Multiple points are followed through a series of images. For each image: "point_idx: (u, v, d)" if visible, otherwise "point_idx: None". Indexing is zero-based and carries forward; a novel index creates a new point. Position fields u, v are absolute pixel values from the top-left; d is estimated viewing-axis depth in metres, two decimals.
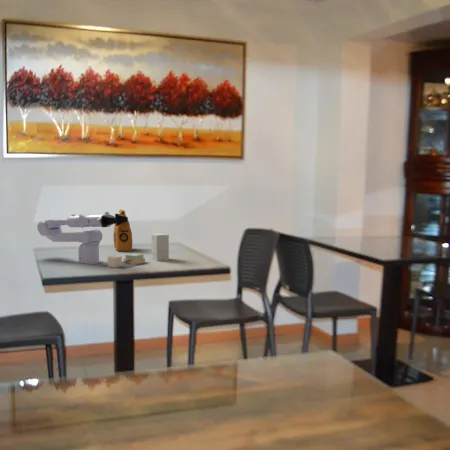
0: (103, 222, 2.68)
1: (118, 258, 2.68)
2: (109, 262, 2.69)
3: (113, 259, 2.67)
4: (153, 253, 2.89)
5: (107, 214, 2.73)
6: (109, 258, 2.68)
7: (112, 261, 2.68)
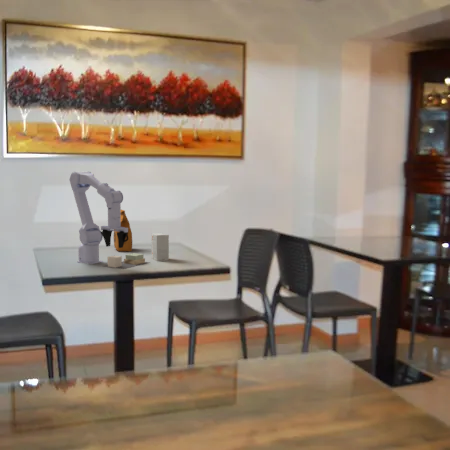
0: None
1: (118, 258, 2.68)
2: (109, 262, 2.69)
3: (113, 259, 2.67)
4: (153, 253, 2.89)
5: None
6: (109, 258, 2.68)
7: (112, 261, 2.68)
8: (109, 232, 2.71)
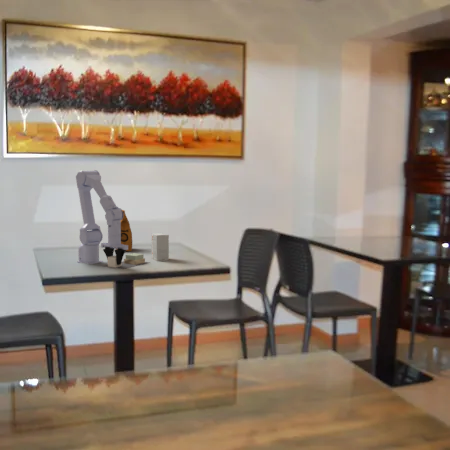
0: None
1: None
2: (109, 262, 2.69)
3: (113, 259, 2.67)
4: (153, 253, 2.89)
5: (110, 246, 2.67)
6: (109, 258, 2.68)
7: (112, 261, 2.68)
8: (111, 249, 2.71)
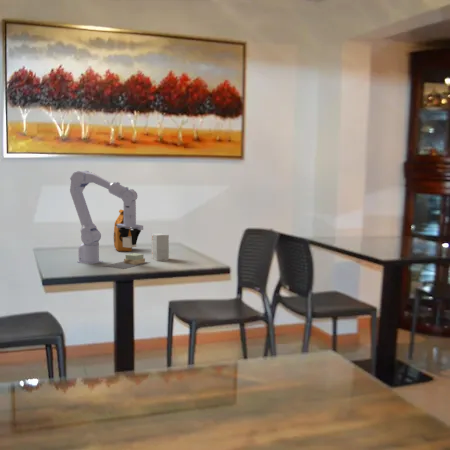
0: None
1: None
2: (124, 243, 2.75)
3: (128, 240, 2.73)
4: (153, 253, 2.89)
5: (125, 226, 2.73)
6: (124, 239, 2.74)
7: (127, 241, 2.73)
8: (127, 230, 2.78)
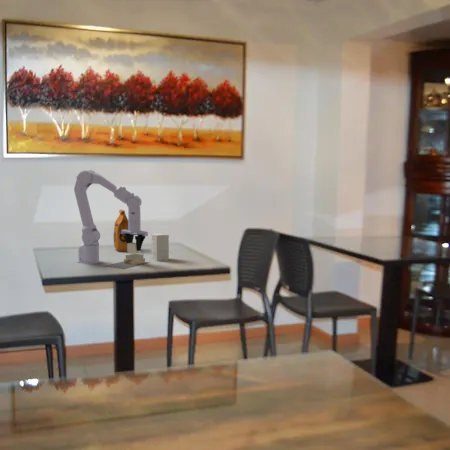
0: None
1: None
2: (129, 249, 2.77)
3: (133, 246, 2.76)
4: (153, 253, 2.89)
5: (130, 233, 2.76)
6: (129, 245, 2.77)
7: (132, 247, 2.76)
8: (131, 236, 2.80)
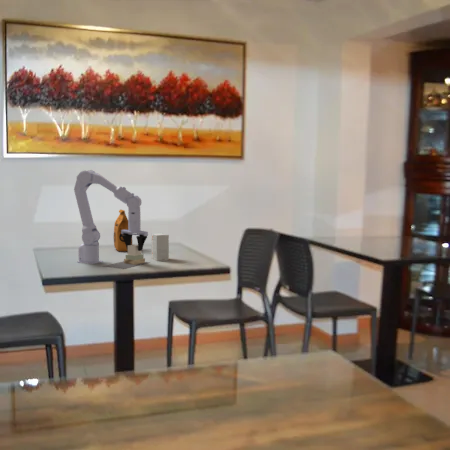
0: None
1: (137, 246, 2.77)
2: (129, 251, 2.77)
3: (133, 248, 2.76)
4: (153, 253, 2.89)
5: (130, 233, 2.76)
6: (129, 247, 2.77)
7: (132, 249, 2.76)
8: (130, 236, 2.81)
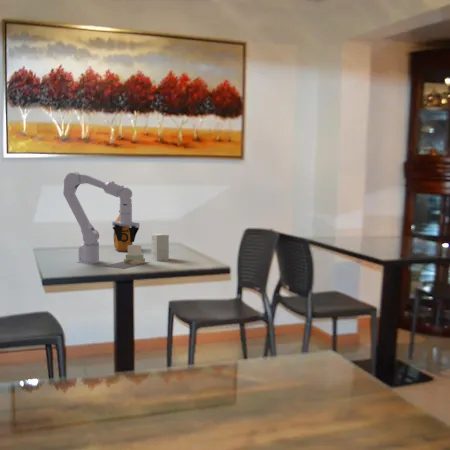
0: None
1: (137, 246, 2.77)
2: (129, 251, 2.77)
3: (133, 248, 2.76)
4: (153, 253, 2.89)
5: None
6: (129, 247, 2.77)
7: (132, 249, 2.76)
8: (120, 227, 2.83)
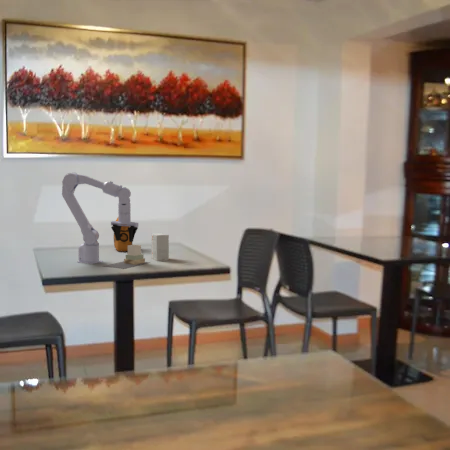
0: None
1: (137, 246, 2.77)
2: (129, 251, 2.77)
3: (133, 248, 2.76)
4: (153, 253, 2.89)
5: None
6: (129, 247, 2.77)
7: (132, 249, 2.76)
8: (119, 227, 2.83)
